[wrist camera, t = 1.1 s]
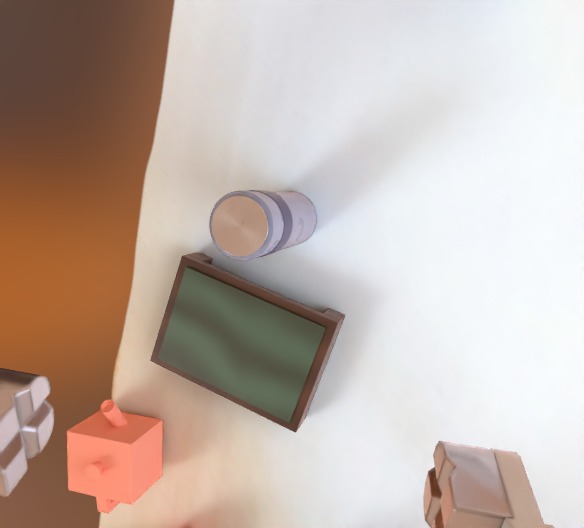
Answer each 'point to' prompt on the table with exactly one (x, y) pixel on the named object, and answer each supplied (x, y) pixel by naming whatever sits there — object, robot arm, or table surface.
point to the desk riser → (245, 341)
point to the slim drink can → (261, 222)
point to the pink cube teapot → (114, 456)
